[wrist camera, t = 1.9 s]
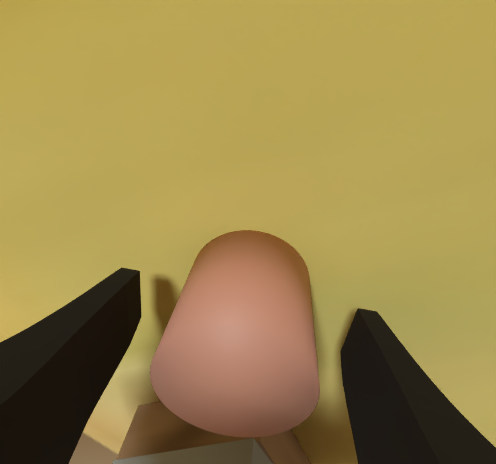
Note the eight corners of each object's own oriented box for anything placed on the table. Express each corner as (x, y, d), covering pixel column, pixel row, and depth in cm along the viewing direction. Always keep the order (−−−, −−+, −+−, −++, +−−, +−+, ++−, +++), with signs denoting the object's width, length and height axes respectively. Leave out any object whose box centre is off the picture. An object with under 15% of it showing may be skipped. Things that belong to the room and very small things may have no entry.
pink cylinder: (286, 214, 11) (285, 307, 7) (323, 310, 13) (339, 427, 9) (172, 250, 12) (117, 346, 8) (221, 333, 14) (196, 444, 10)
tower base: (264, 375, 16) (260, 440, 13) (310, 455, 19) (314, 522, 16) (141, 398, 18) (116, 459, 15) (200, 467, 20) (188, 529, 18)
